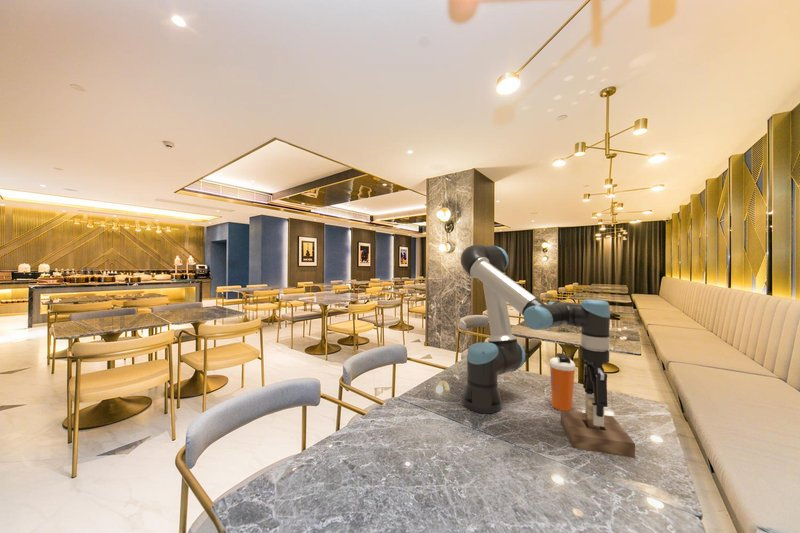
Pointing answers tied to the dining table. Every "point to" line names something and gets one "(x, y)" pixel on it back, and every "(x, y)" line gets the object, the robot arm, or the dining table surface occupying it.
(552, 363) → the shaker bottle
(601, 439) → the socket block
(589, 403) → the peg
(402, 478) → the dining table surface
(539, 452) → the dining table surface
